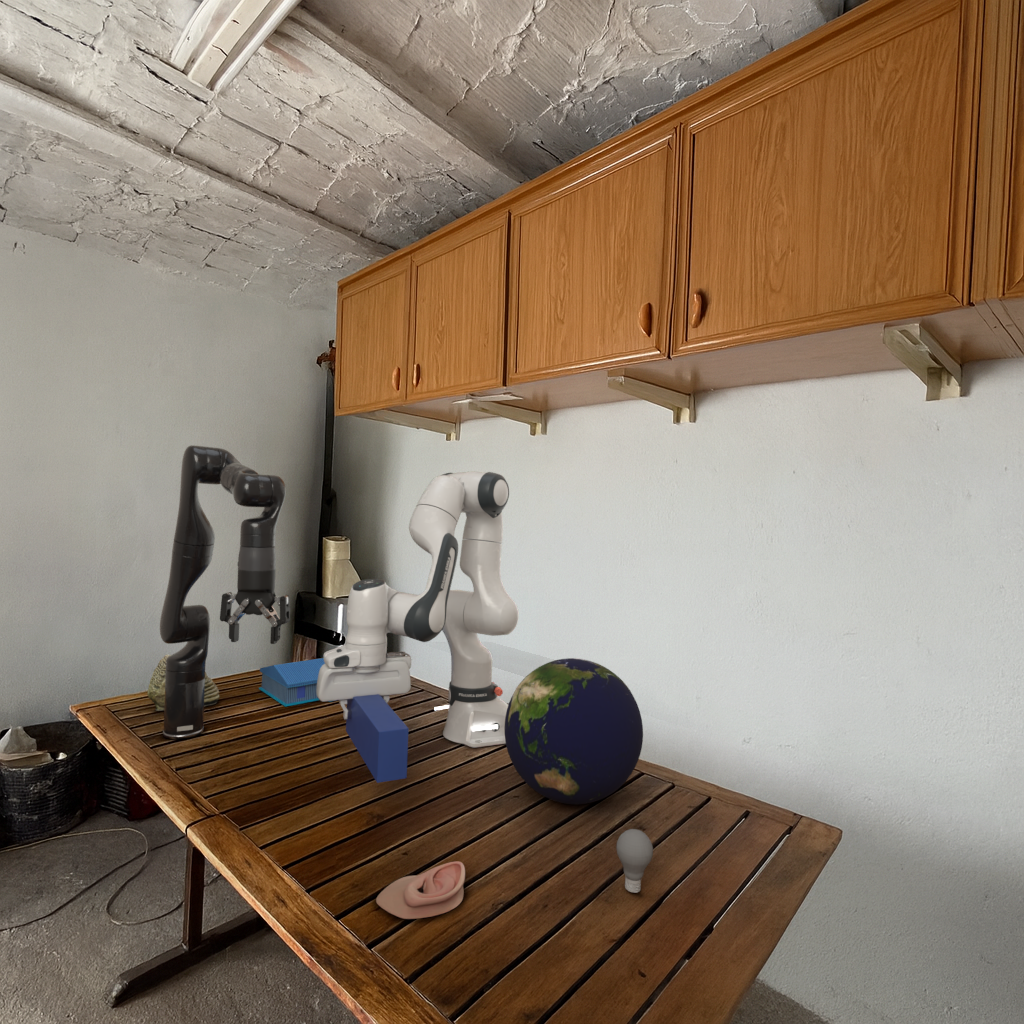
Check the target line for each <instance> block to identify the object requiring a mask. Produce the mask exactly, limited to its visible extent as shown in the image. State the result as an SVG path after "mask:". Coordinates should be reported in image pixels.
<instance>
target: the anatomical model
mask: <svg viewBox="0 0 1024 1024" xmlns="http://www.w3.org/2000/svg"><path fill="white" fill-rule="evenodd" d="M465 881H466V868H465V864H464V863H463V862H461V861H460V860H459V861H456V860H455V861H449V862H446V863H442V864H440V865H437V866H434V867H433V868H430V869H428V870H426V871H424V872H421V873H420V874H418V875H407V876H404V877H400V878H398V879H396V880H394V881H393V882H391V883H390V884H389V885H388V886H386V887H384V889H383V890H381V892H380V893H379V894H378V895H377V897H376V899H375V902H376V904H377V905H378V906H379V907H380V908H381V909H383V910H384V911H386V912H387V913H389V914H391V915H393V916H395V917H398V918H400V919H404V920H415V919H423V918H424V919H425V918H430V917H431V918H432V917H435V916H439V915H443V914H445V913H448V912H451V911H452V910H454V909H455V908H457V907H458V906H460V904H461V903H462V901H463V899H464V896H465V894H464V893H465V892H464V884H465Z"/></svg>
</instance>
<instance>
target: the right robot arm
mask: <svg viewBox="0 0 1024 1024" xmlns="http://www.w3.org/2000/svg"><path fill="white" fill-rule="evenodd" d="M509 497H510V488H509V483H508V481H507V480H506V478H505V477H504V476H503V475H502V474H499V473H497V472H492V471H488V472H485V471H477V470H476V471H475V470H469V471H461V472H460V471H459V472H446V473H443V474H440V475H437V476H435V477H433V479H431V480H430V482H429V484H427V486H426V488H425V489H424V491H423V492H422V494H421V496H420V497H419V499H418V500H417V503H416V505H415V508H414V509H413V511H412V514H411V515H410V518H409V519H410V520H409V523H408V531H409V534H410V537H411V539H412V541H413V542H414V543H415V544H416V545H417V546H418V547H419V548H421V550H423V551H425V552H426V553H428V554H429V555H430V556H431V565H430V569H429V573H428V577H427V582H426V585H425V589H424V591H423V592H421V593H419V594H415V593H409V592H405V591H399V590H397V589H394V588H392V587H390V586H389V585H388V584H387V582H386V581H385V580H384V579H380V578H366V579H361V580H358V581H357V582H354V584H352V586H351V588H350V591H349V594H348V599H347V606H346V624H347V634H346V637H345V644H343V645H340V646H338V647H335V648H332V649H330V650H327V651H325V652H324V653H323V657H322V658H324V662H325V664H324V665H322V667H321V668H320V671H319V674H318V680H317V688H316V695H317V697H318V698H319V700H318V701H320V702H325V703H326V702H329V701H331V702H335V701H336V700H337V701H338V704H339V705H340V707H341V709H342V710H343V713H342V714H343V715H342V716H343V719H344V720H346V719H351V718H352V716H351V715H352V711H351V709H347V699H353V697H357V696H367V695H377V694H379V695H380V696H381V697H382V698H383V699H384V701H385V702H386V703H387V704H388V703H389V701H390V696H395V695H406V694H409V692H410V691H411V687H412V682H411V681H412V680H411V672H410V671H411V670H410V669H411V667H412V656H411V655H410V654H409V653H407V652H406V651H396V652H395V651H391V652H389V651H387V650H388V648H387V647H388V637H387V634H388V633H389V634H393V635H396V636H401V637H407V638H410V639H412V640H416V641H418V642H422V643H428V642H431V641H432V640H434V639H435V638H436V637H437V636H438V635H440V633H441V632H442V633H443V634H444V636H445V639H446V642H447V645H448V647H449V651H450V662H451V663H450V667H451V668H450V669H451V670H450V675H451V676H450V681H449V684H448V694H447V695H448V697H447V700H448V704H447V705H442V706H434V709H433V710H434V711H440V710H446V709H448V710H447V715H446V721H445V724H444V728H443V731H442V736H443V737H444V738H445V739H446V740H448V741H450V742H453V743H456V744H462V745H465V746H467V747H470V748H482V747H489V746H496V745H497V746H498V745H506V742H505V731H504V727H505V717H506V712H507V708H508V705H509V702H505V701H504V700H503V699H502V698H501V696H502V695H503V694H504V690H503V689H502V687H500V686H499V685H498V684H497V683H495V682H494V681H492V680H493V678H492V677H493V656H492V653H491V651H490V650H489V648H487V647H486V646H485V645H484V644H483V643H482V642H481V640H480V638H479V635H484V636H491V637H496V636H497V637H498V636H508V635H510V634H512V632H514V630H515V629H516V627H517V625H518V623H519V619H520V613H519V608H518V604H517V603H516V601H514V599H513V598H512V597H511V596H510V594H509V593H508V592H507V589H506V588H505V586H504V583H503V578H502V574H501V562H502V547H503V540H504V539H503V537H504V518H503V510H504V509H505V507H506V505H507V504H508V501H509ZM461 513H462V514H465V517H466V518H465V522H464V527H463V531H462V539H461V548H460V557H459V568H460V570H461V572H462V573H463V574H464V575H465V576H466V577H468V578H469V579H470V581H471V584H472V588H473V591H471V590H470V591H469V590H464V589H451V587H452V583H453V578H454V574H455V570H456V567H457V566H456V565H457V560H458V555H459V543H458V540H457V538H456V537H455V531H456V527H457V525H458V523H459V520H460V516H461ZM478 634H479V635H478ZM386 652H387V653H386Z"/></svg>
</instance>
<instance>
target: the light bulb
mask: <svg viewBox="0 0 1024 1024" xmlns="http://www.w3.org/2000/svg"><path fill="white" fill-rule="evenodd" d="M615 849H616V854H617V857H618V859H619V861H620V863H621V865H622V867H623V873H624V874H623V875H624V876H625V878H624V888H625V890H627V891H628V892H630V893H634V894H635V893H639V892H640V891H641V889H642V887H641V886H642V879H643V877H644V875H645V871H646V868H647V867H648V866H649V864H650V863H651V861H652V859H653V855H654V847H653V843H652V841H651V838H649V836H648V835H647V834H646V833H645V832H643V831H642V830H641V829H636V828H629V829H627V830H625V831H623V832H622V833H621V834H620V835H619V837H618V839H617V841H616V847H615Z"/></svg>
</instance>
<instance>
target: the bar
mask: <svg viewBox="0 0 1024 1024" xmlns="http://www.w3.org/2000/svg"><path fill="white" fill-rule="evenodd" d="M346 708H347V709H351V711H352V715H351V716H352V718H351V719H345V721H346V722H345V732H346V733H347V735H348V737H349V738H350V740H351V742H352V743H353V746H355V748H356V750H357V752H358V754H359V755H360V757H361V758H362V761H363V762H364V764H365V765H366V767H367V769H368V770H369V772H370V773H371V775H372V777H373V779H374V780H375V782H376V783H377V784H379V783H386V782H392V781H398V780H404V779H405V780H406V779H407V778H408V756H409V755H408V753H409V732H410V731H409V729H410V728H409V727H408V726H407V725H406V724H405V723H404V721H403V720H402V719H401V718H400V717H399V715H398V714H397V713H396V712H395V711H394V710H393V709H392V707H391V706H390V705H389V704H388V703H386V702H385V701H384V699H383V698H382V697H381V696H380V695H379V694H377V695H367V696H357V697H353V699H347V704H346Z"/></svg>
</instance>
